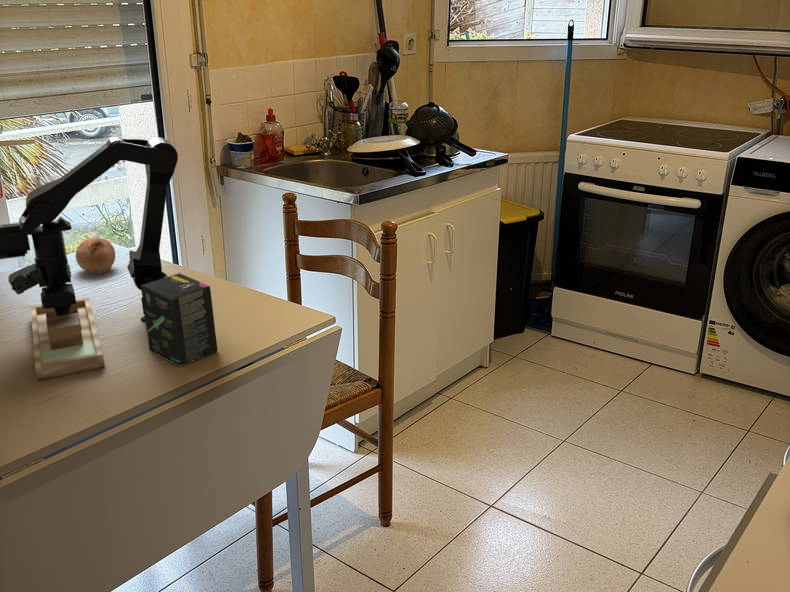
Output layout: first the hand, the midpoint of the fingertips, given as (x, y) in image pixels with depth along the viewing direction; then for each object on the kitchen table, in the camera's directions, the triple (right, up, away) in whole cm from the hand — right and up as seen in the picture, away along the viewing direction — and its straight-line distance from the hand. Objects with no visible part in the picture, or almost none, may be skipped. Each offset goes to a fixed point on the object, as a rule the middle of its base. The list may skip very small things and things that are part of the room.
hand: (63, 322), depth 163 cm
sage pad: (+6, -8, -11) cm, 14 cm away
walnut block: (+3, -4, -5) cm, 7 cm away
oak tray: (+2, -4, -2) cm, 5 cm away
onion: (-6, +12, +35) cm, 37 cm away
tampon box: (+27, -6, -6) cm, 28 cm away
